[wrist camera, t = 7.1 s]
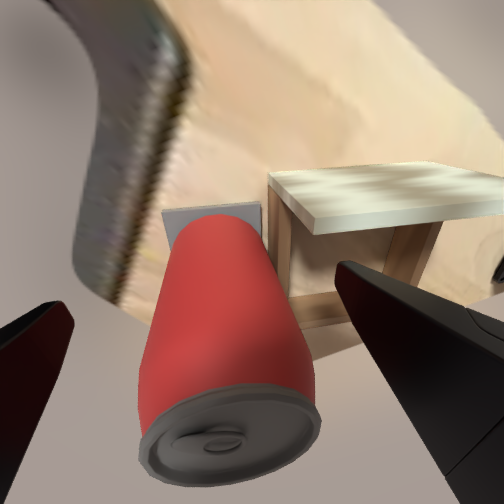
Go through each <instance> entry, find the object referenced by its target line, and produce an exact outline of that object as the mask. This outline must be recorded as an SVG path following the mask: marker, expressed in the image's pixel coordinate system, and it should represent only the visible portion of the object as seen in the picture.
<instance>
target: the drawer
mask: <svg viewBox="0 0 504 504" xmlns="http://www.w3.org/2000/svg"><path fill="white" fill-rule="evenodd" d="M268 184H269V185H268V256H269V258H270V260H271V263H272V265H273V267H274V269H275V272H276V274H277V276H278V279H279V281H280V283H281V286H282V288H283V290H284V293H285V295H286V297H287V300H288V302H289V304H290V307H291V309H292V311H293V313H294V316H295V318H296V320H297V323H298V325H299V327H300V330H301V329H307V328H314V327H320V326H326V325H333V324H339V323H345V322H351V320H350V318H349V316H348V313H347V311H346V309H345V307H344V305H343V303H342V300H341V298H340V296H339V294H338V292H337V291H335V292H328V293H321V294H314V295H307V296H300V297H293V298H288V283H289V264H290V245H291V227H292V211H293V213H294V214H295V215H296V216H297V217H298V218H299V219H300V221H301V222H302V223H303V224H304V225H305V226H306V227H307V229H308V230H309V231H310V232H311V233H312V234H313V235H318V234H327V233H337V232H346V231H355V230H364V229H373V228H383V227H392V226H396V230H395V233H394V236H393V240H392V243H391V246H390V250H389V253H388V256H387V260H386V263H385V266H384V270H383V273H382V274H385V275H387V276H390V277H392V278H395V279H397V280H400V281H402V282H405V283H407V284H410V285H412V286H415V287H417V286H418V283H419V281H420V278H421V276H422V273H423V271H424V268H425V266H426V263H427V261H428V259H429V256H430V254H431V251H432V249H433V246H434V244H435V241H436V239H437V236H438V234H439V231H440V229H441V226H442V224H443V222H444V221H447V220H456V219H465V218H474V217H484V216H493V215H502V214H504V178H503V177H499V176H494V175H489V174H485V173H480V172H475V171H471V170H466V169H461V168H457V167H452V166H447V165H443V164H438V163H433V162H429V161H418V162H405V163H391V164H378V165H364V166H351V167H337V168H323V169H310V170H296V171H283V172H269V173H268Z"/></svg>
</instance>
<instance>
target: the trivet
mask: <svg viewBox="0 0 504 504" xmlns="http://www.w3.org/2000/svg"><path fill="white" fill-rule="evenodd" d="M161 213H162V217H163V222H164V226H165V230H166V234H167V238H168V242H169V246H170V250H172V246H173V243H174V241H175V240H176V238H177V236H178V234H179V232H180V231H181V230H182V229H184V228H185V227H186V226H187V225H188V224H189V223H190V222H192V221H194V220H197V219H199V218H201V217H204V216H208V215H217V214H224V215H229V216H234V217H238V218H240V219H242V220H243V221H245V222H247V223H249V224H250V225H251V226H252V227H253V228H254V229H255V230H256V231H257V232H258V233H259V235H260V237H261V218H260V202H259V201H258V202H246V203H235V204H224V205H212V206H201V207H190V208H178V209H167V210H162V212H161Z"/></svg>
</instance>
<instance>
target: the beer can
mask: <svg viewBox="0 0 504 504" xmlns="http://www.w3.org/2000/svg"><path fill="white" fill-rule="evenodd" d="M138 412H139V419H140V425H141V430H142V439H141V441H140V447H139V458H138V459H139V462H140V463H141V464H142V466H143V467H144V469H145V470H146V471H147V473H148V474H149V475H150V476H152V477H154V478H156V479H158V480H160V481H162V482H164V483H167V484H172V485H177V486H183V487H214V486H222V485H231V484H235V483H239V482H243V481H248V480H252V479H255V478H258V477H261V476H263V475H266V474H269V473H272V472H275V471H276V470H278V469H280V468H282V467H284V466H286V465H288V464H290V463H292V462H294V461H295V460H296V459H297V458H299V457H300V456H301V455H303V454H304V453H305V452H306V451H308V450H309V448H310V447H311V446H312V444H313V443H314V442H315V440H316V439H317V437H318V435H319V432H320V427H321V421H322V420H321V417H320V415H319V413H318V411H317V409H316V407H315V373H314V368H313V362H312V356H311V354H310V351H309V349H308V346H307V344H306V341H305V339H304V337H303V334H302V332H301V330H300V327H299V325H298V323H297V320H296V318H295V316H294V313H293V311H292V309H291V307H290V304H289V302H288V300H287V297H286V295H285V293H284V290H283V288H282V286H281V283H280V281H279V279H278V276H277V274H276V272H275V269H274V267H273V265H272V263H271V260H270V258H269V256H268V253H267V251H266V249H265V246H264V244H263V242H262V239H261V237H260V235H259V233H258V232H257V231H256V230H255V229H254V228H253V227H252V226H251V225H250V224H249V223H247V222H245V221H243V220H242V219H240V218H238V217H234V216H229V215H224V214H217V215H208V216H204V217H201V218H199V219H197V220H194V221H192V222H190V223H189V224H188V225H187V226H186V227H185V228H184V229H182V230H181V231H180V232H179V234H178V236H177V238H176V240H175V241H174V243H173V246H172V250H171V253H170V257H169V261H168V264H167V268H166V272H165V276H164V279H163V283H162V287H161V291H160V294H159V298H158V302H157V305H156V309H155V313H154V317H153V320H152V324H151V328H150V332H149V335H148V339H147V343H146V347H145V350H144V354H143V358H142V362H141V365H140V370H139V384H138Z"/></svg>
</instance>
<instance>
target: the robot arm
mask: <svg viewBox="0 0 504 504" xmlns="http://www.w3.org/2000/svg"><path fill="white" fill-rule="evenodd" d="M494 281H496V282H498V283H504V262H503V264H502V265H501V267H500V269H499V270H498V272H497V274H496V275H495V277H494ZM334 283H335V287H336V290H337V292H338V294H339V296H340V298H341V300H342V303H343V305H344V307H345V309H346V311H347V313H348V316H349V318H350V320H351V322H352V324H353V326H354V327H355V329H356V331H357V332H358V334H359V336H360V337H361V339H362V341H363V342H364V344H365V346H366V347H367V349H368V351H369V352H370V354H371V356H372V357H373V359H374V360H375V362H376V364H377V366H378V367H379V369H380V371H381V372H382V374H383V376H384V377H385V379H386V381H387V382H388V384H389V386H390V387H391V389H392V391H393V392H394V394H395V396H396V397H397V399H398V401H399V402H400V404H401V406H402V407H403V409H404V411H405V412H406V414H407V416H408V417H409V419H410V421H411V422H412V424H413V426H414V427H415V429H416V431H417V432H418V434H419V436H420V437H421V439H422V441H423V442H424V444H425V446H426V447H427V449H428V451H429V452H430V454H431V456H432V457H433V459H434V461H435V462H436V464H437V466H438V467H439V469H440V471H441V472H442V474H443V475H444V476H445V480H446V481H447V483H448V485H449V486H450V488H451V490H452V491H453V493H454V494H455V496H456V498H457V499H458V501H459V503H460V504H504V322H502V321H500V320H497V319H494V318H492V317H489V316H487V315H484V314H482V313H479V312H477V311H474V310H472V309H469V308H465V307H464V306H462V305H459V304H457V303H454V302H452V301H449V300H447V299H444V298H442V297H439V296H437V295H434V294H432V293H429V292H427V291H425V290H422V289H420V288H417V287H415V286H412V285H410V284H407V283H405V282H402V281H400V280H397V279H395V278H392V277H390V276H387V275H385V274H382V273H380V272H377V271H375V270H372V269H370V268H367V267H365V266H363V265H360V264H358V263H355V262H353V261H342V262H339V263H338V264H337V268H336V274H335V280H334ZM73 329H74V319H73V317H72V315H71V314H70V312H69V310H68V309H67V307H66V305H65V304H64V303H63V302H62V301H51V302H46V303H43V304H41V305H40V306H38V307H36V308H34V309H33V310H31V311H29V312H28V313H26V314H24V315H22V316H21V317H19V318H17V319H16V320H14V321H12V322H11V323H9V324H7V325H6V326H4V327H2V328H0V504H4V502H5V499H6V497H7V495H8V492H9V490H10V488H11V486H12V483H13V481H14V479H15V476H16V474H17V472H18V469H19V467H20V465H21V462H22V460H23V458H24V455H25V453H26V451H27V448H28V446H29V444H30V441H31V439H32V437H33V434H34V432H35V430H36V428H37V425H38V423H39V420H40V418H41V416H42V414H43V411H44V409H45V407H46V404H47V402H48V399H49V397H50V395H51V393H52V390H53V388H54V386H55V383H56V381H57V379H58V376H59V373H60V370H61V368H62V365H63V361H64V358H65V355H66V352H67V349H68V345H69V342H70V339H71V336H72V333H73Z"/></svg>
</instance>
